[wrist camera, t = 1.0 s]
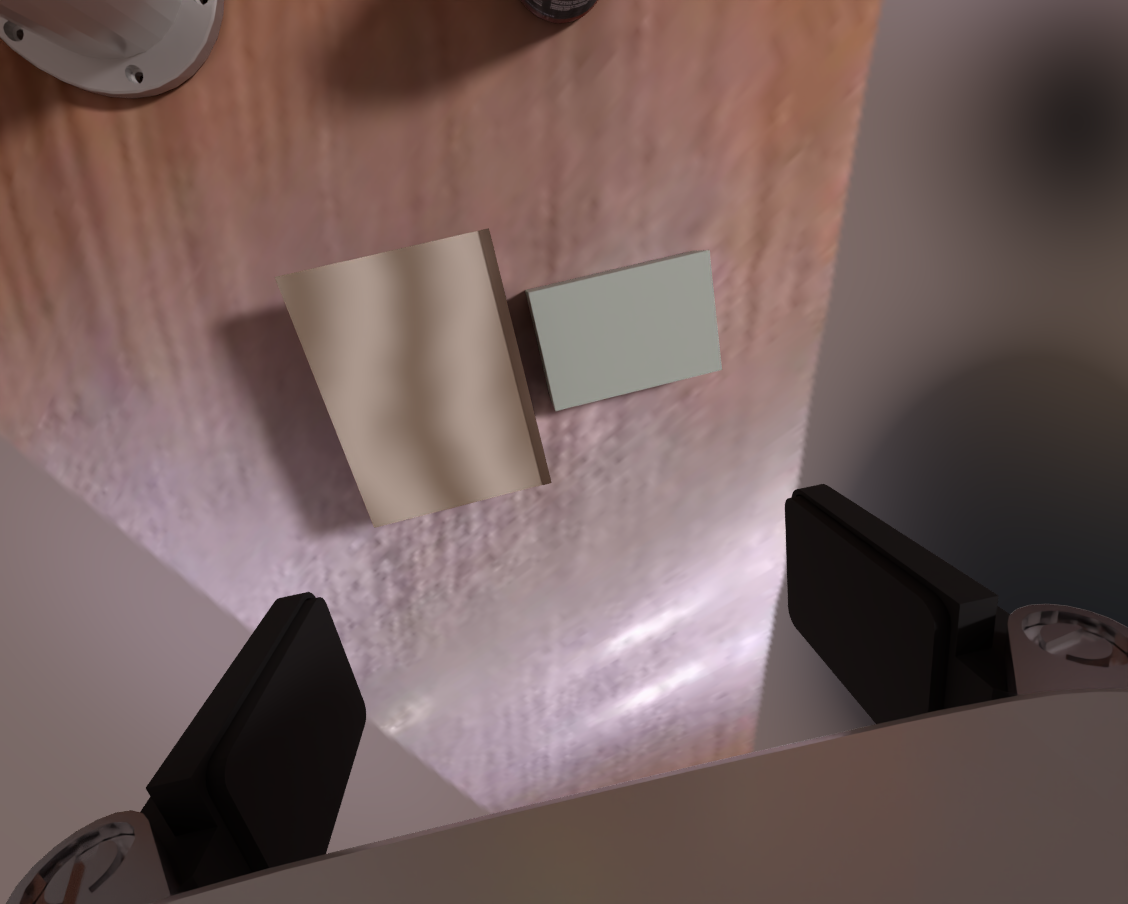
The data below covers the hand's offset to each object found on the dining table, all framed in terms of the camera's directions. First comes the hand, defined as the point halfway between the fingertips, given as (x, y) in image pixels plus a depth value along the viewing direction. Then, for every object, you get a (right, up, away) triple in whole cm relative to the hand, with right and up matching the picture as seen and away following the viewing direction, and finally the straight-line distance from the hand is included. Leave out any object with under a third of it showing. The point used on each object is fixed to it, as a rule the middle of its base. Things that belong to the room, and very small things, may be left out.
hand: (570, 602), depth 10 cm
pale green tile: (+4, +12, +27) cm, 30 cm away
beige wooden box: (-9, +9, +27) cm, 29 cm away
